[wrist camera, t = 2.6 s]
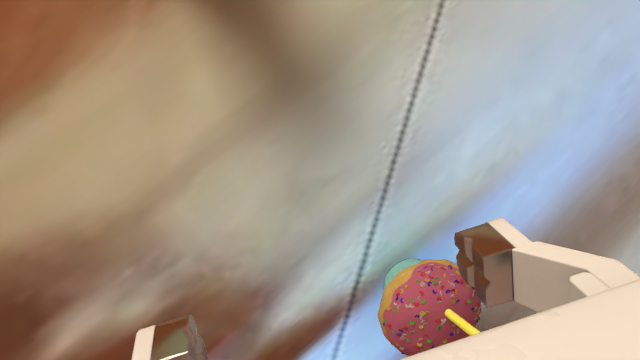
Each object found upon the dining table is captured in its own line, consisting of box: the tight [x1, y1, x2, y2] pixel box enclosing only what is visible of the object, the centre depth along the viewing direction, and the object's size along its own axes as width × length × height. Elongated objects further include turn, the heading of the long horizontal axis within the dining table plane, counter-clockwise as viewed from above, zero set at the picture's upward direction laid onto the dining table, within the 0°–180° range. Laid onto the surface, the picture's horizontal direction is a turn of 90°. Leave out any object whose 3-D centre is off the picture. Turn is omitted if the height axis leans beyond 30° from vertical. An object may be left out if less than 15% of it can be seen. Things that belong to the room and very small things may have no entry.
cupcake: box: [378, 259, 481, 356], centre depth 38 cm, size 9×8×12 cm
